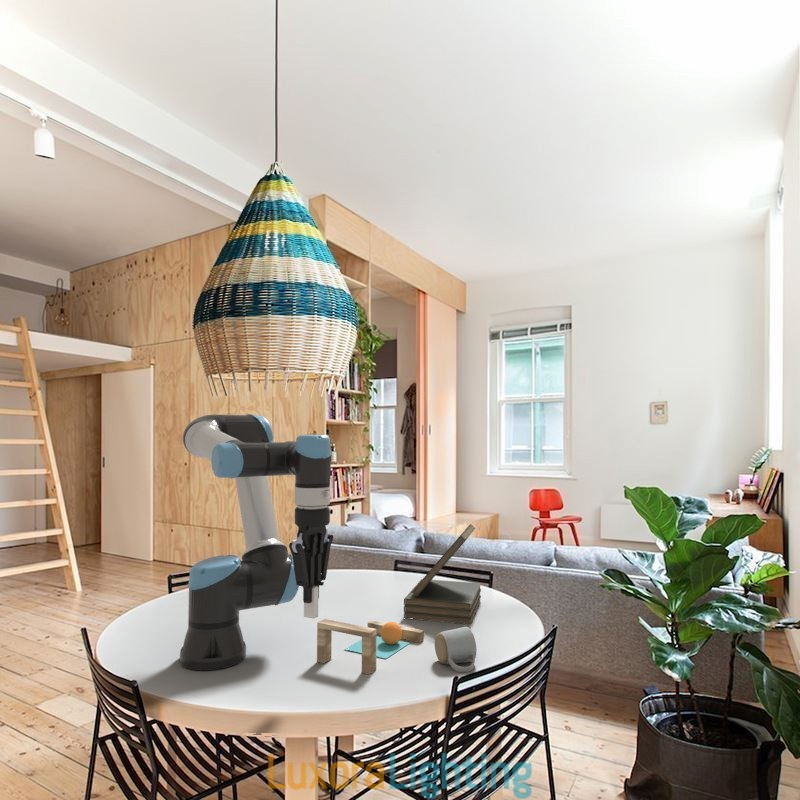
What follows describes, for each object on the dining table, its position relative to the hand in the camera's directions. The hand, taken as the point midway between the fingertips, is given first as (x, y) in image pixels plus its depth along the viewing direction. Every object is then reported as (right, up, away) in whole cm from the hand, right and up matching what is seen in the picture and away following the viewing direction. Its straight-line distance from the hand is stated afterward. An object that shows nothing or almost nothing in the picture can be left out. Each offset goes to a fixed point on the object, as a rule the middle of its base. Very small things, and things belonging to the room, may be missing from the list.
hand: (310, 616), depth 131 cm
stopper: (+18, -16, +31) cm, 39 cm away
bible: (+33, -18, +54) cm, 65 cm away
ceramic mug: (+33, -16, +12) cm, 38 cm away
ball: (+17, -13, +25) cm, 33 cm away
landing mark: (+13, -16, +23) cm, 31 cm away
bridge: (+7, -15, +10) cm, 20 cm away
